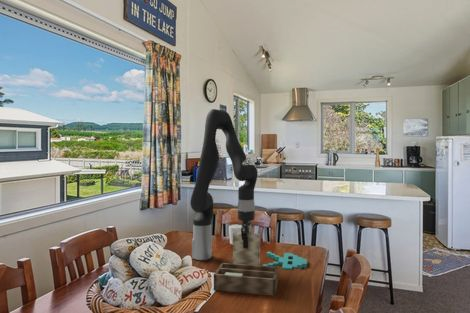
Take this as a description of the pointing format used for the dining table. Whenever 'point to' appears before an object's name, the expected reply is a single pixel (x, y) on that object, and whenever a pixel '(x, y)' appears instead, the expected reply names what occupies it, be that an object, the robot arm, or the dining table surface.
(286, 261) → the alien figure
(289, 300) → the dining table surface
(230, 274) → the sage offcut
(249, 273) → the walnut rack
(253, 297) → the dining table surface
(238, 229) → the white cup
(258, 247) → the birch panel
